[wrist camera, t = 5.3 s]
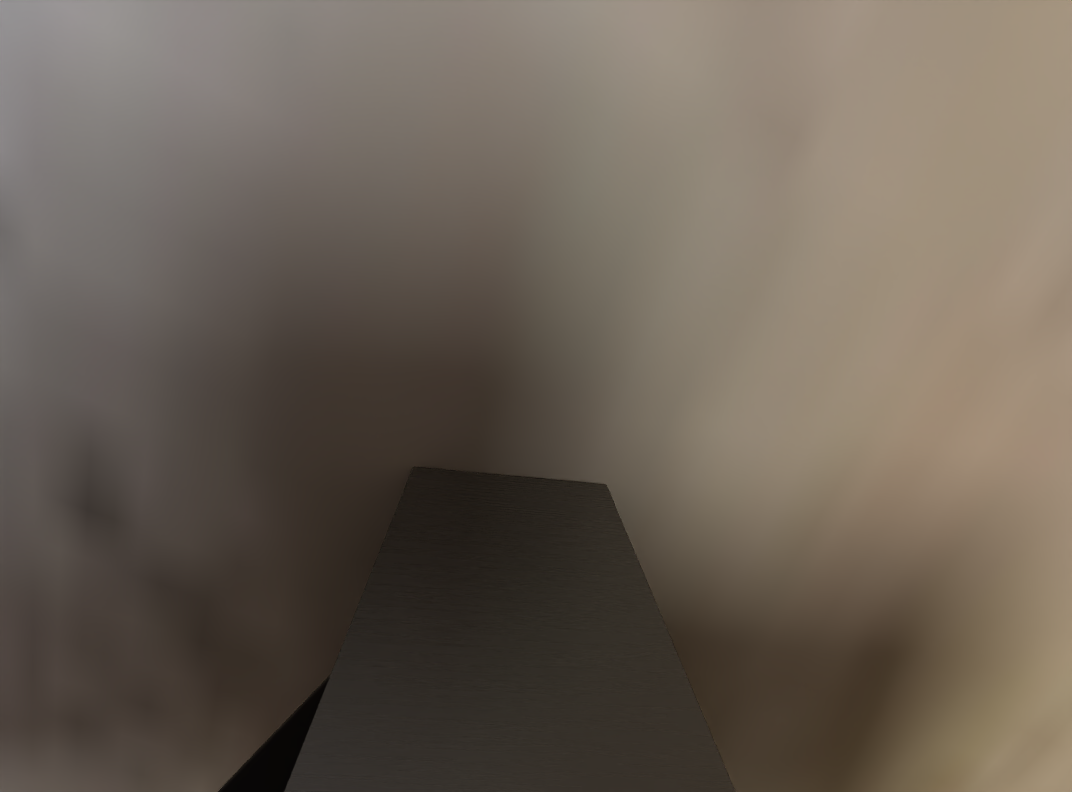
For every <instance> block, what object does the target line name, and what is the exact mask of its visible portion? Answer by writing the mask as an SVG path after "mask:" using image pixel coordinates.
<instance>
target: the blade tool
mask: <svg viewBox="0 0 1072 792" xmlns="http://www.w3.org/2000/svg"><path fill="white" fill-rule="evenodd" d="M284 792H735V790H734V788H733V785H732V783H731V780H730V778H729V776H728V773H727V771H726V768H725V766H724V764H723V761H722V759H721V757H720V754H719V752H718V749H717V747H716V745H715V742H714V740H713V738H712V735H711V733H710V730H709V728H708V726H707V723H706V721H705V718H704V716H703V714H702V711H701V709H700V707H699V704H698V702H697V699H696V697H695V695H694V692H693V690H692V688H691V685H690V683H689V680H688V678H687V676H686V673H685V671H684V668H683V666H682V664H681V661H680V659H679V657H678V654H677V652H676V649H675V647H674V645H673V642H672V640H671V638H670V635H669V633H668V630H667V628H666V626H665V623H664V621H663V618H662V616H661V614H660V611H659V609H658V607H657V604H656V602H655V599H654V597H653V595H652V592H651V590H650V587H649V585H648V583H647V580H646V578H645V576H644V573H643V571H642V568H641V566H640V564H639V561H638V559H637V557H636V554H635V552H634V549H633V547H632V545H631V542H630V540H629V537H628V535H627V533H626V530H625V528H624V526H623V523H622V521H621V518H620V516H619V514H618V511H617V509H616V507H615V504H614V502H613V499H612V497H611V495H610V492H609V490H608V487H607V485H602V484H591V483H581V482H570V481H559V480H549V479H538V478H527V477H516V476H506V475H495V474H484V473H474V472H463V471H452V470H441V469H431V468H420V467H413V469H412V471H411V474H410V476H409V479H408V481H407V484H406V487H405V489H404V492H403V494H402V497H401V499H400V502H399V504H398V507H397V509H396V512H395V514H394V517H393V519H392V522H391V524H390V527H389V529H388V532H387V534H386V537H385V539H384V542H383V544H382V547H381V549H380V552H379V555H378V557H377V560H376V562H375V565H374V567H373V570H372V572H371V575H370V577H369V580H368V582H367V585H366V587H365V590H364V592H363V595H362V597H361V600H360V602H359V605H358V607H357V610H356V612H355V615H354V617H353V620H352V622H351V625H350V628H349V630H348V633H347V635H346V638H345V640H344V643H343V645H342V648H341V650H340V653H339V655H338V658H337V660H336V663H335V665H334V668H333V670H332V673H331V675H330V678H329V680H328V683H327V685H326V688H325V690H324V693H323V696H322V698H321V701H320V703H319V706H318V708H317V711H316V713H315V716H314V718H313V721H312V723H311V726H310V728H309V731H308V733H307V736H306V738H305V741H304V743H303V746H302V748H301V751H300V753H299V756H298V758H297V761H296V764H295V766H294V769H293V771H292V774H291V776H290V779H289V781H288V784H287V786H286V789H285V791H284Z"/></svg>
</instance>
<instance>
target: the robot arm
mask: <svg viewBox="0 0 1072 792" xmlns="http://www.w3.org/2000/svg"><path fill="white" fill-rule="evenodd" d="M329 678H330V676H329V677H328V678H327V679H326V680H325V681H324V682H323V683H322V684H321V685H320V686H319V687H318V688H317V689H316V690H315V691H314V692H313V693H312V694H311V695H310V696H309V698H308V699H307V700H306V701H305V702H304V703H303V704H302V705H301V706H300V707H299V708H298V709H297V710H296V711H295V712H294V713H293V714H292V715H291V716H290V717H289V718H288V719H287V720H286V721H285V722H284V723H283V724H282V725H281V727H280V728H279V729H278V730H277V731H276V732H275V733H274V734H273V735H272V736H271V737H270V738H269V739H268V740H267V741H266V742H265V743H264V744H263V745H262V746H261V747H260V748H259V749H258V750H257V751H256V752H255V753H254V754H253V756H252V757H251V758H250V759H249V760H248V761H247V762H246V763H245V764H244V765H243V766H242V767H241V768H240V769H239V770H238V771H237V772H236V773H235V774H234V775H233V776H232V777H231V778H230V779H229V780H228V781H227V782H226V783H225V785H224V786H223V787H222V788H221V789H220V790H219V791H218V792H284V791H285V789H286V786H287V784H288V781H289V779H290V776H291V774H292V771H293V769H294V766H295V764H296V761H297V758H298V756H299V753H300V751H301V748H302V746H303V743H304V741H305V738H306V736H307V733H308V731H309V728H310V726H311V723H312V721H313V718H314V716H315V713H316V711H317V708H318V706H319V703H320V701H321V698H322V696H323V693H324V690H325V688H326V685H327V683H328V680H329Z"/></svg>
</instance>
